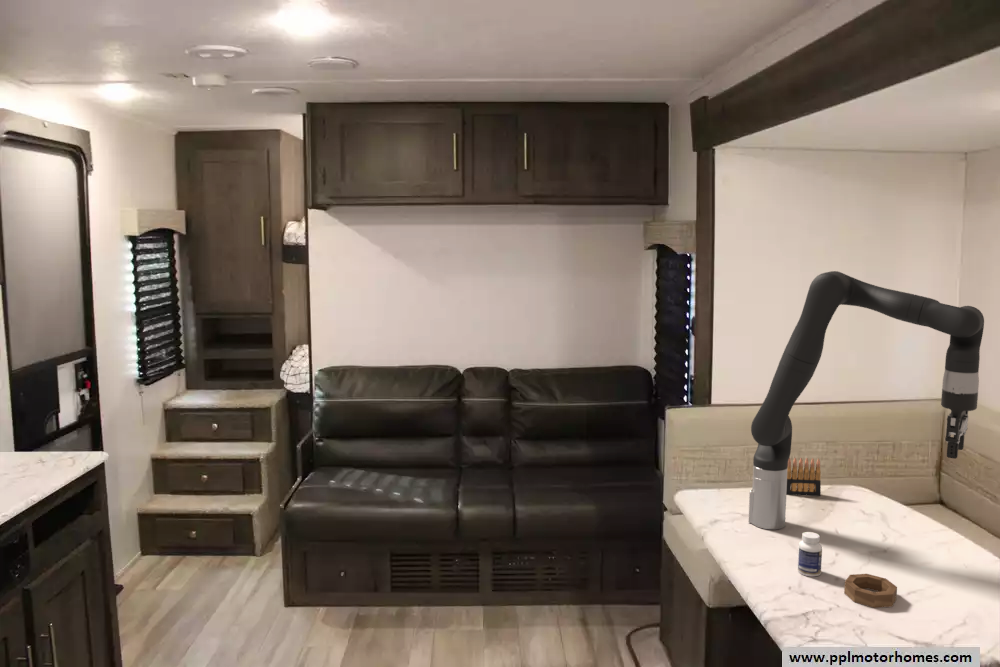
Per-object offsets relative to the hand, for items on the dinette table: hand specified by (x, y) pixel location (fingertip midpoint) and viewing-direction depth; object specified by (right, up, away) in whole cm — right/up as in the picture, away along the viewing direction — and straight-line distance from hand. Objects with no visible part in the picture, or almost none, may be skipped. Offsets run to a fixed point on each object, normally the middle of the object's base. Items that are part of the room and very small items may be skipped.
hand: (955, 453), depth 189 cm
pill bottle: (-35, -30, +2) cm, 46 cm away
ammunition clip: (-16, -22, +55) cm, 62 cm away
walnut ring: (-26, -32, -10) cm, 42 cm away
